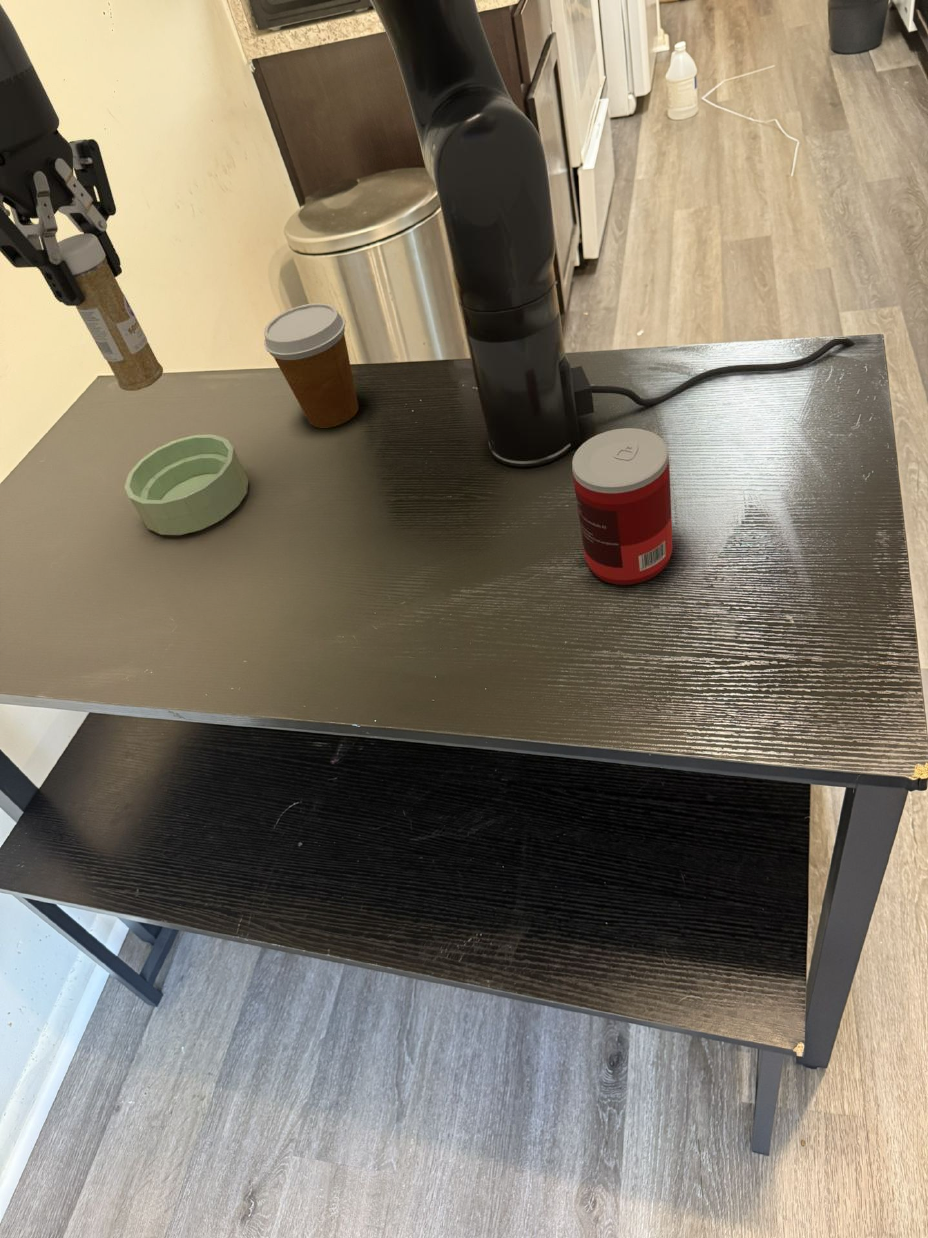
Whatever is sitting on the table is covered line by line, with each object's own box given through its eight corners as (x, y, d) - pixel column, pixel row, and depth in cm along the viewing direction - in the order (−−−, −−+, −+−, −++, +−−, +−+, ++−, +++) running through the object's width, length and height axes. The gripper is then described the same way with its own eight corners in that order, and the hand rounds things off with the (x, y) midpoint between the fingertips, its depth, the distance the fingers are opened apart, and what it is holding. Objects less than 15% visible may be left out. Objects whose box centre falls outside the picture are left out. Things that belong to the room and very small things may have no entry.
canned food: (680, 529, 78) (676, 427, 71) (664, 591, 73) (658, 488, 66) (596, 524, 81) (584, 425, 73) (576, 584, 76) (560, 484, 68)
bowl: (253, 460, 102) (236, 424, 98) (246, 523, 93) (228, 486, 89) (154, 484, 102) (134, 449, 99) (138, 550, 94) (116, 514, 90)
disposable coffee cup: (287, 411, 108) (251, 322, 99) (357, 382, 109) (328, 292, 101) (307, 446, 101) (270, 353, 93) (382, 415, 103) (352, 321, 94)
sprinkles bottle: (170, 377, 83) (101, 238, 74) (127, 398, 82) (50, 259, 72) (156, 362, 86) (87, 226, 77) (113, 382, 85) (38, 247, 75)
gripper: (-55, 103, 60) (73, 331, 72) (78, 38, 68) (173, 251, 80) (-124, 113, 63) (10, 330, 75) (12, 49, 71) (113, 253, 83)
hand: (94, 288), depth 77 cm, fingers closed on sprinkles bottle, 4 cm apart
